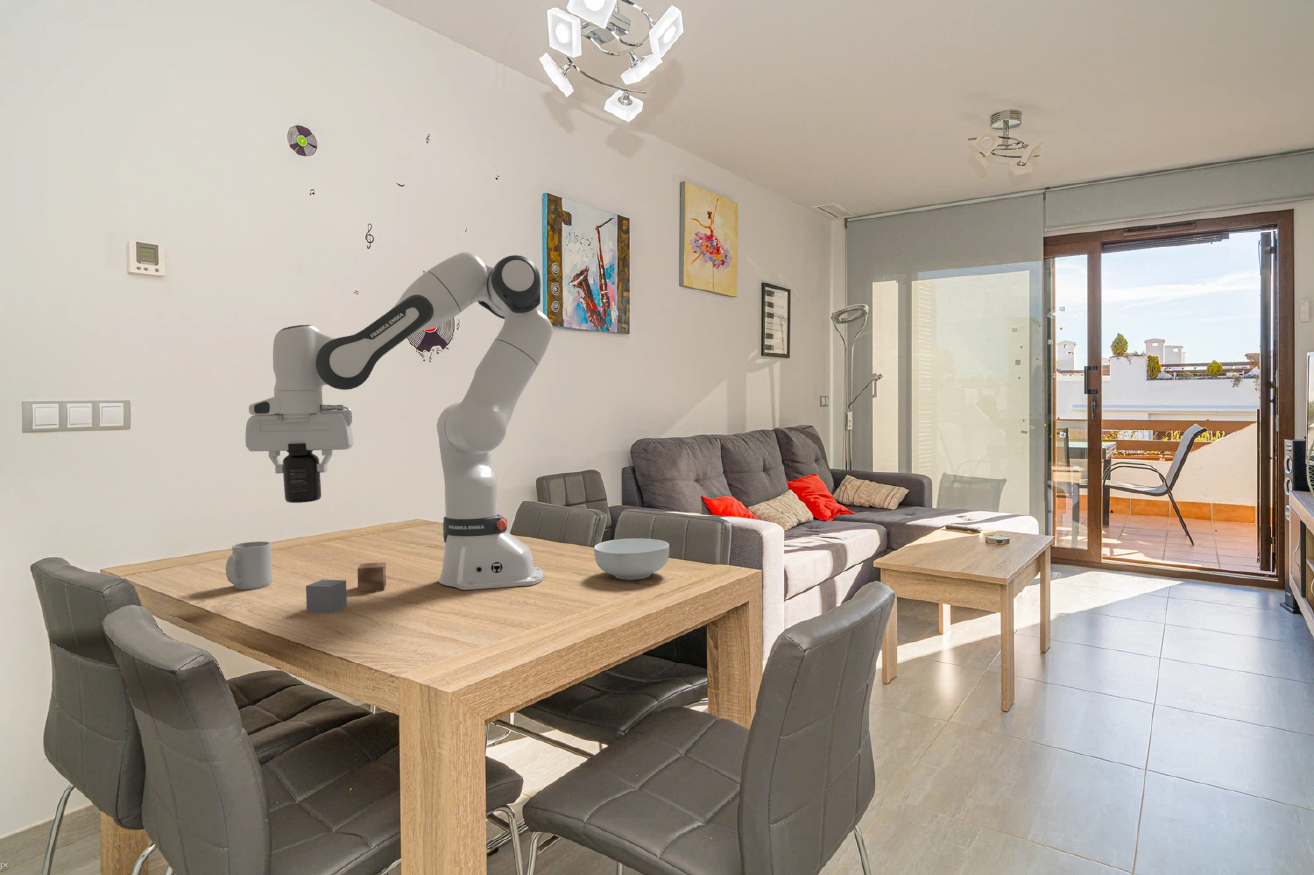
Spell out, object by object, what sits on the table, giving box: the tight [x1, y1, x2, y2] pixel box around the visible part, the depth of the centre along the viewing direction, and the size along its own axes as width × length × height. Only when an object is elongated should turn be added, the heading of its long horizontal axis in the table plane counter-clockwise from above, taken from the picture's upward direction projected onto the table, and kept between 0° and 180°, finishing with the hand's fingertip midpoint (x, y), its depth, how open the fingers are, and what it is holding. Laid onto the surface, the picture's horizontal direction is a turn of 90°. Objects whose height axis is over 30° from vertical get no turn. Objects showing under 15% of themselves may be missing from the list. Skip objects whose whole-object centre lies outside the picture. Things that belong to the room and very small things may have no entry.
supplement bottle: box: [282, 443, 322, 504], centre depth 151 cm, size 7×7×12 cm
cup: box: [225, 541, 273, 591], centre depth 157 cm, size 7×10×9 cm
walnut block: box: [357, 561, 387, 593], centre depth 155 cm, size 5×5×5 cm
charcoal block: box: [305, 579, 348, 614], centre depth 140 cm, size 5×5×5 cm
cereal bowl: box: [593, 538, 670, 581], centre depth 165 cm, size 17×17×7 cm
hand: (301, 472), depth 151 cm, fingers closed on supplement bottle, 7 cm apart
